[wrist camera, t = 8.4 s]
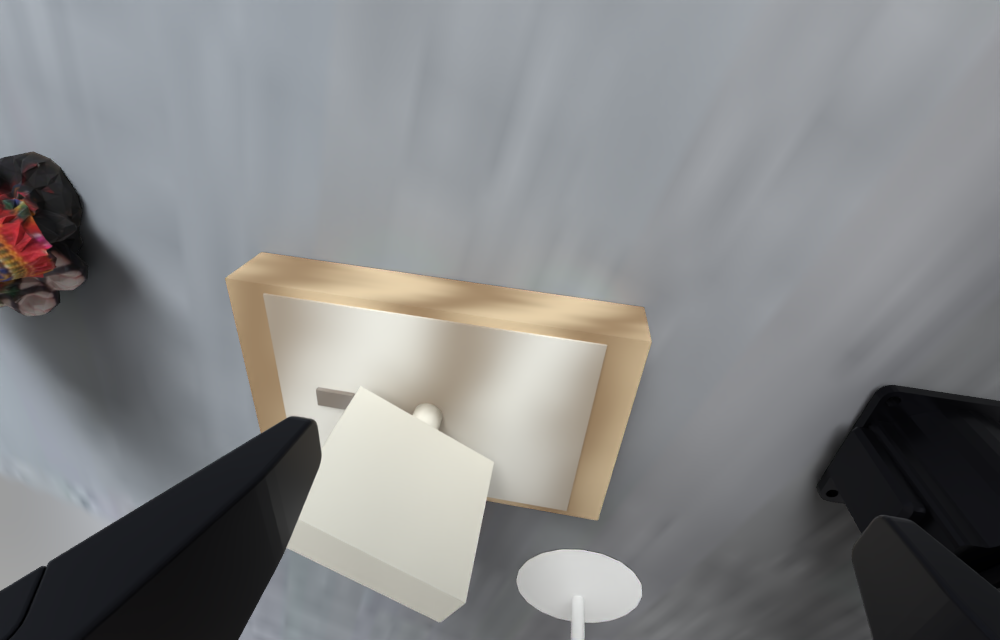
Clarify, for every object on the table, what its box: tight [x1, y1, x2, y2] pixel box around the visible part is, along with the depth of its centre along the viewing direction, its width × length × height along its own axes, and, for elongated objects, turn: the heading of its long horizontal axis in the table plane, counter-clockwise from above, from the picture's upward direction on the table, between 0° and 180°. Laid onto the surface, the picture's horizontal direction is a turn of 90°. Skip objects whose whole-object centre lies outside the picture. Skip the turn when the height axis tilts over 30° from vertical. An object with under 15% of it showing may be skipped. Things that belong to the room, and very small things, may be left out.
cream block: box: [286, 386, 494, 623], centre depth 19 cm, size 6×6×7 cm
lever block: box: [225, 252, 652, 521], centre depth 22 cm, size 16×10×3 cm, turn 84°
